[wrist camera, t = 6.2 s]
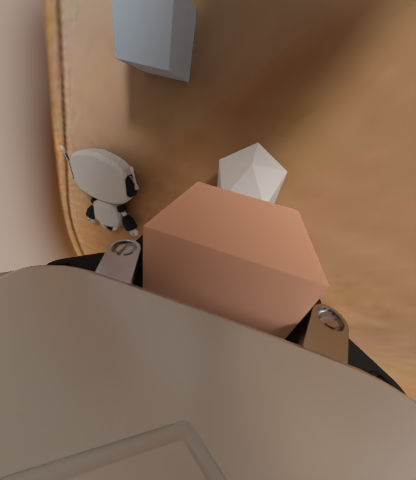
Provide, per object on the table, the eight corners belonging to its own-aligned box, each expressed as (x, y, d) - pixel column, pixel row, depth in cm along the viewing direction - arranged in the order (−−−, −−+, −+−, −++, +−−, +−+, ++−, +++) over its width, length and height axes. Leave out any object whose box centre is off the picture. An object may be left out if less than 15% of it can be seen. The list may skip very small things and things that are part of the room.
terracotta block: (197, 181, 11) (142, 225, 6) (297, 210, 10) (329, 286, 5) (184, 257, 14) (142, 326, 9) (259, 282, 14) (257, 370, 9)
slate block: (146, 2, 21) (109, -38, 16) (197, 12, 20) (175, -27, 15) (146, 72, 24) (115, 58, 19) (189, 82, 23) (169, 70, 18)
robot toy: (148, 231, 39) (145, 157, 29) (135, 243, 35) (128, 163, 26) (96, 214, 40) (79, 138, 31) (79, 224, 36) (54, 142, 27)
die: (216, 195, 31) (236, 240, 25) (200, 148, 23) (223, 196, 18) (262, 175, 30) (294, 217, 24) (260, 120, 23) (304, 162, 17)
